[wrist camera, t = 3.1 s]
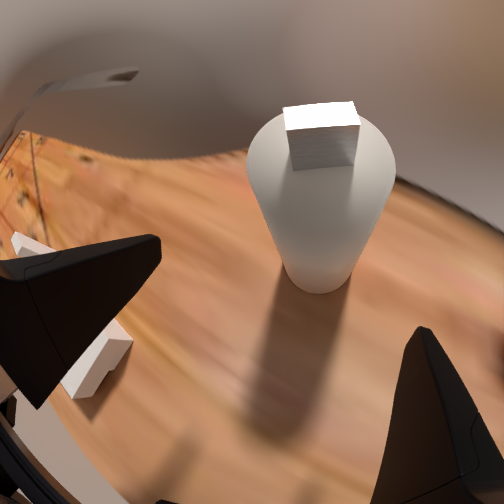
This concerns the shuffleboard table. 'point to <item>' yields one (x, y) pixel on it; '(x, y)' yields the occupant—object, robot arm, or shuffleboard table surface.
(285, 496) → the shuffleboard table surface
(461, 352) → the shuffleboard table surface
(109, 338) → the bracket
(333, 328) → the shuffleboard table surface
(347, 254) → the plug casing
